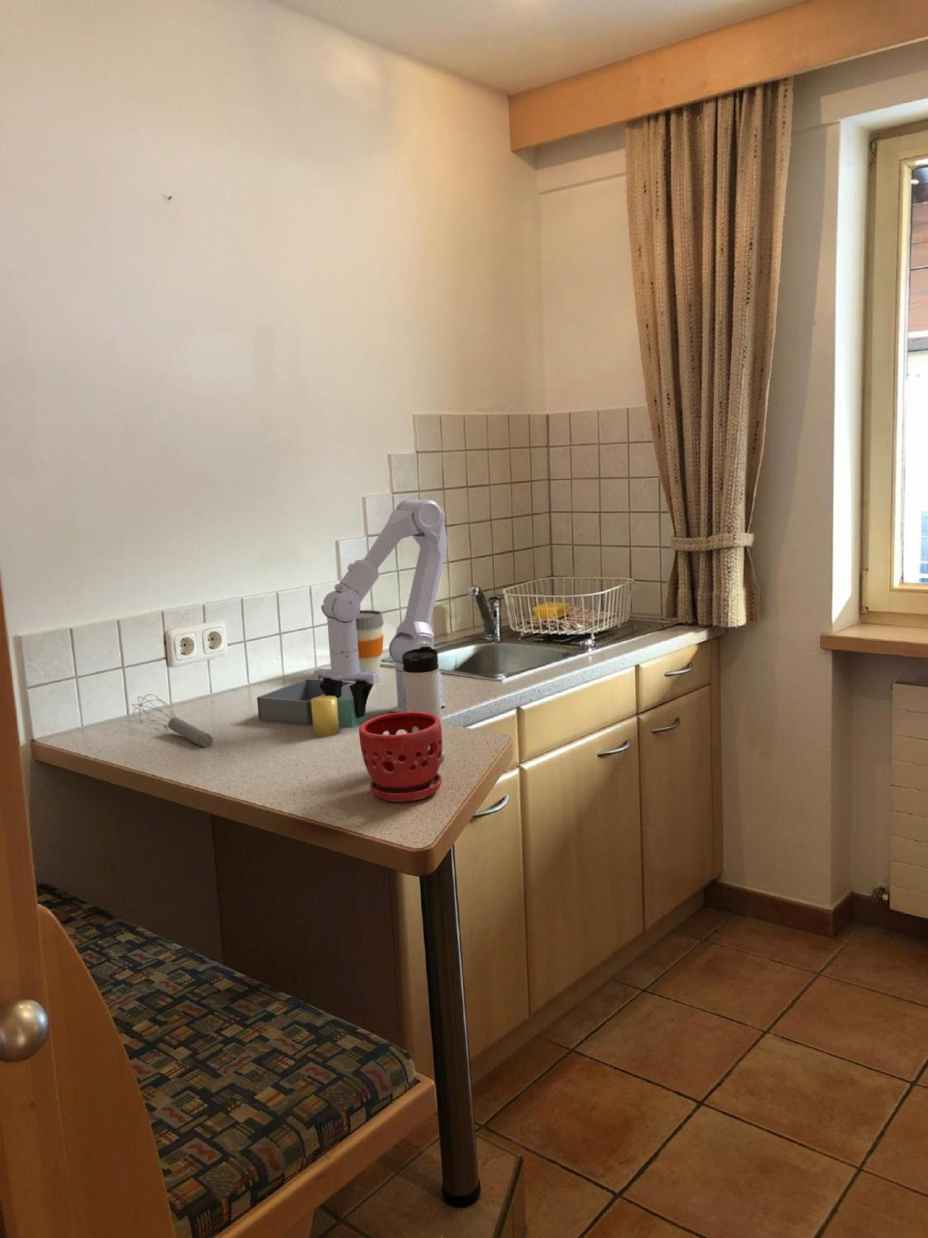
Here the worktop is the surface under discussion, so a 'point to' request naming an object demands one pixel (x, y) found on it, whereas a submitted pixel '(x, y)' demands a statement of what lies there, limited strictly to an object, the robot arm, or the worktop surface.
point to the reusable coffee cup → (369, 639)
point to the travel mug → (422, 683)
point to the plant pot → (402, 755)
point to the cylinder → (325, 716)
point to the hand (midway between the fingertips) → (348, 715)
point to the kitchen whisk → (181, 727)
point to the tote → (293, 702)
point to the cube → (348, 712)
